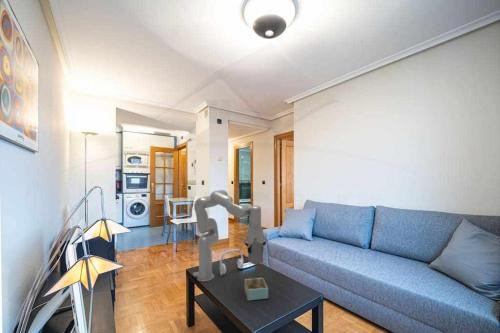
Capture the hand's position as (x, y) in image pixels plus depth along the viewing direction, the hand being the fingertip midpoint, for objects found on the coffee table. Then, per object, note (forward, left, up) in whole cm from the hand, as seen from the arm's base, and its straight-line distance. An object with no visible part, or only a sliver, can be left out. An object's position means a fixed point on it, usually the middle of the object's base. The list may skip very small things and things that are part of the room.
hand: (255, 252), depth 140 cm
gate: (0, -6, -26) cm, 27 cm away
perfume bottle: (0, 0, -6) cm, 6 cm away
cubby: (0, 0, -26) cm, 26 cm away
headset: (-13, +32, -27) cm, 44 cm away
